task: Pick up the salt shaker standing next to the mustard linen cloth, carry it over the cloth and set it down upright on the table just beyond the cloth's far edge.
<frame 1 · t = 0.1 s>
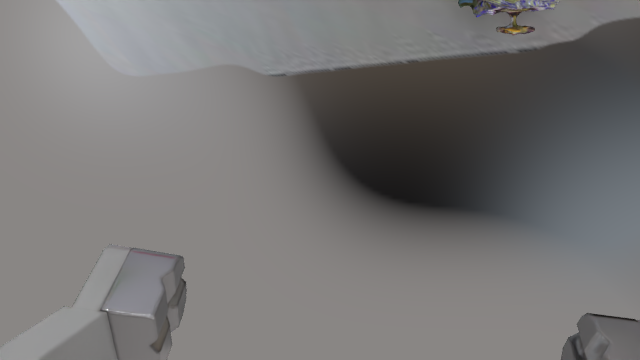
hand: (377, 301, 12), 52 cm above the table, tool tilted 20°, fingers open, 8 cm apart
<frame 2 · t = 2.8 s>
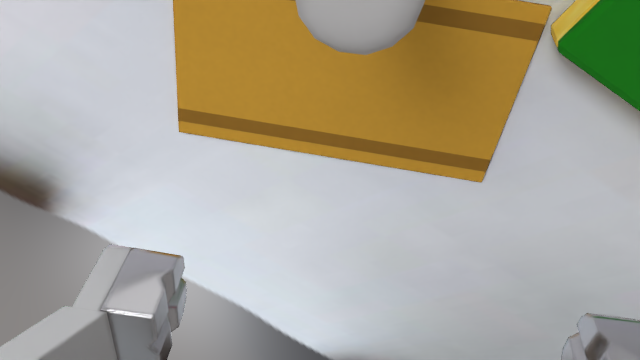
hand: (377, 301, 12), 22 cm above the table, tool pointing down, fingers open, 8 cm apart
cloth: (343, 74, 34), on the table
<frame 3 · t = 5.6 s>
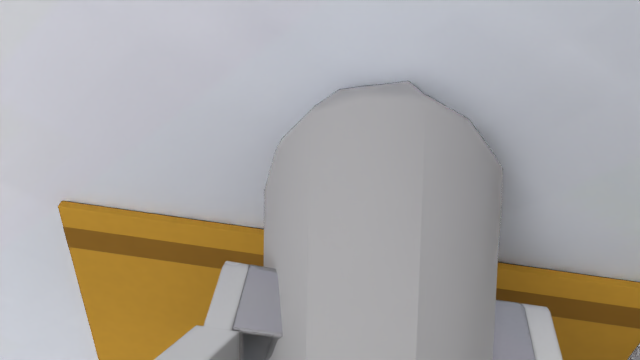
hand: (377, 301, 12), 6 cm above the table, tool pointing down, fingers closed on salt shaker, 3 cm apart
cloth: (342, 350, 23), on the table
salt shaker: (383, 139, 16), on the table, touching gripper
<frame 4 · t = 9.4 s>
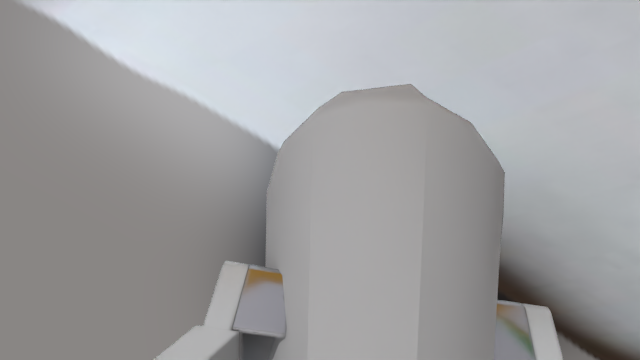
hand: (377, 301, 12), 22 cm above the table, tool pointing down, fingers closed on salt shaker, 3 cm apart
salt shaker: (385, 141, 16), point 16 cm above the table, touching gripper
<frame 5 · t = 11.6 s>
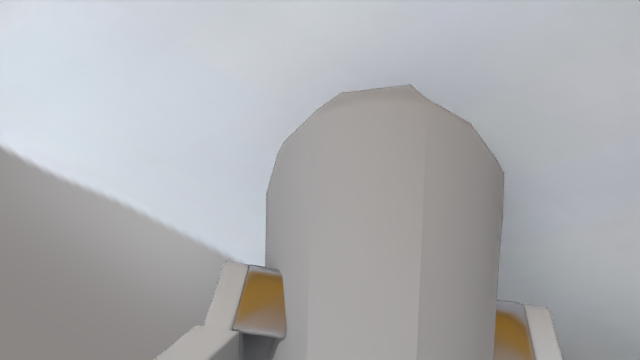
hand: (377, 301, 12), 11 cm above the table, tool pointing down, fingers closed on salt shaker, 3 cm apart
salt shaker: (385, 142, 16), point 5 cm above the table, touching gripper
when the fingers open (6 cm above the table, at t = 13.2 s): salt shaker stays where it is, on the table.
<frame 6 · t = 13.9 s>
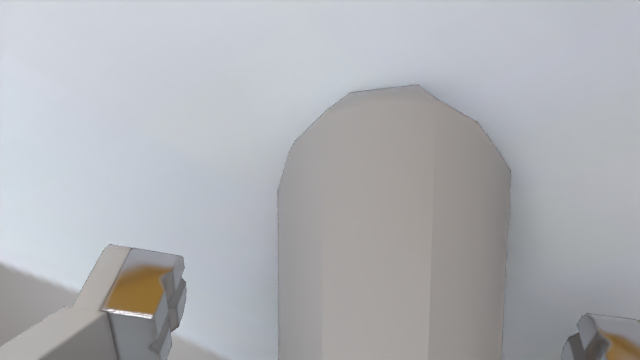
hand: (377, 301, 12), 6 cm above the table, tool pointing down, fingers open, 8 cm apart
salt shaker: (392, 141, 17), on the table
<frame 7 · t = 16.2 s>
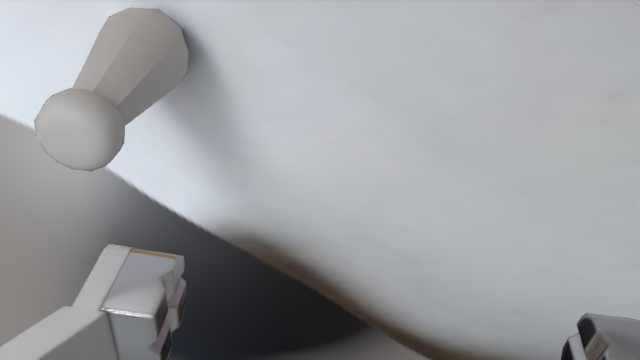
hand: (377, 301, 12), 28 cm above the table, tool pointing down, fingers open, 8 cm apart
salt shaker: (157, 36, 39), on the table
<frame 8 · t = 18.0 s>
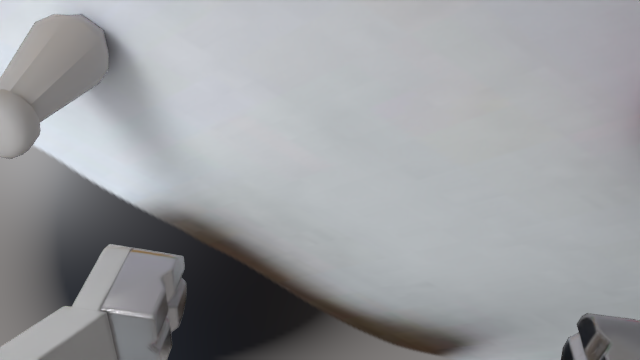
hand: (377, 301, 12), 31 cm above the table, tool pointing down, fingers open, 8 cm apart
salt shaker: (83, 38, 44), on the table
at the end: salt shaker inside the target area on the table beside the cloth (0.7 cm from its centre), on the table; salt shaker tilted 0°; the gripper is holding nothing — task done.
